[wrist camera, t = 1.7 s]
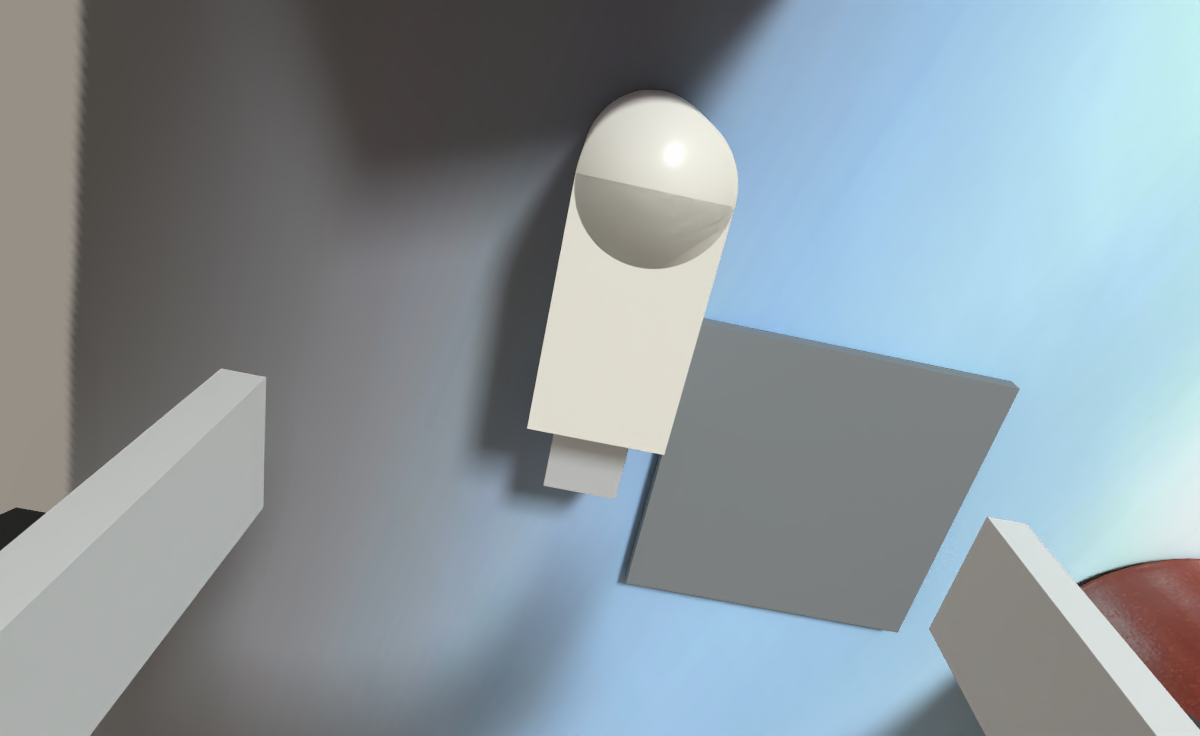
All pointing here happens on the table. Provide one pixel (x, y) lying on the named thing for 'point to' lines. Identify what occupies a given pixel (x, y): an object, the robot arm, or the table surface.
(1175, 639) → the flower pot
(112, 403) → the table surface
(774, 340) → the coaster
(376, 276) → the table surface
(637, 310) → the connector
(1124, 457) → the table surface
